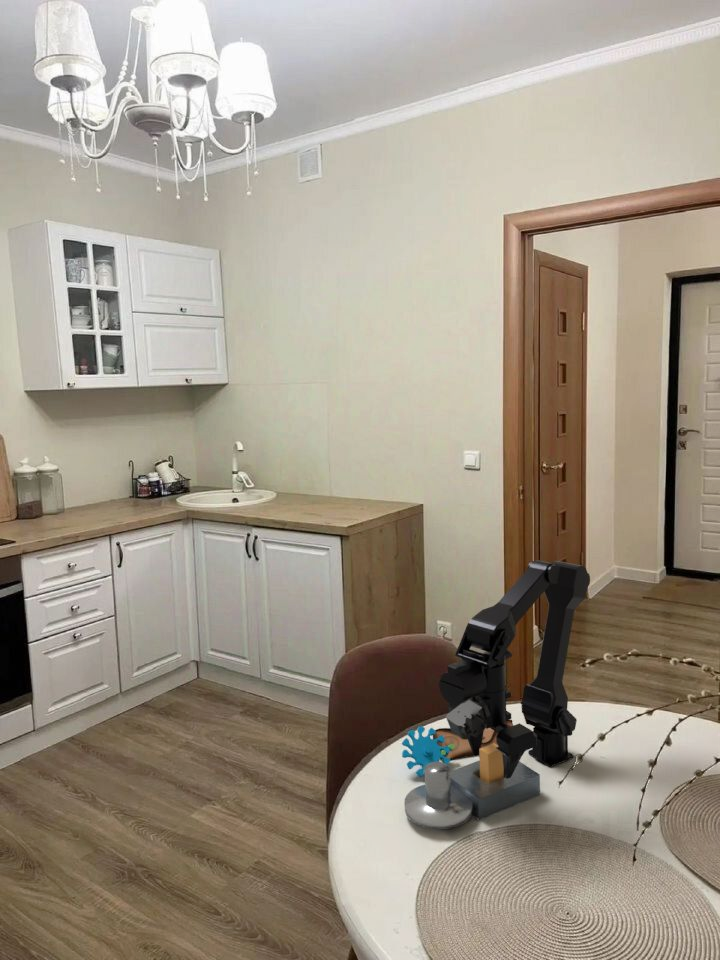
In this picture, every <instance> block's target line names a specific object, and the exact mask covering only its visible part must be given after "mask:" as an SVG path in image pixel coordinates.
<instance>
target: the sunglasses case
mask: <svg viewBox="0 0 720 960" xmlns="http://www.w3.org/2000/svg"><path fill="white" fill-rule="evenodd" d="M513 721H514V720H512V719H509V720H506V724H508V725H509V726H514V724H513ZM434 730H435V731H436V733H435V734H434V735H432V739H437V738H438V737H439V736H440V735H443V737H444V739H445V741H444V742H443V743H439V742H437V745H439V746H441V747H445V746H449V745H450V744H453V745H454V749H453V750H451V751H449V754H448V756H446V758H449V759H450V761H454V760H458V759H464V758H469V757H475V756H474V755H473V753H472V750H471V747H470V744H469V741H468V739H461V738H460V737H459V736H458V735H457V734H455V733H453V732H452V731H451V729H450V727H442V728H441V727H440V728H437V729H434ZM497 735H498V733H497V732H496V731H494V730H492V729H491V728H488V729H486V728H485V730H484V732H483V739H482V745H481V748H482V747H485V746H488V745H490V744H493V743H495V744H496V745H498V744H497V742H496V736H497Z"/></svg>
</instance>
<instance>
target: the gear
mask: <svg viewBox="0 0 720 960" xmlns="http://www.w3.org/2000/svg"><path fill="white" fill-rule="evenodd" d="M416 729H417V733H418V737H417V738H416V737H415V735H416V731H415V730H414V729H411V730H408V732H407V736H408V737H409V738H410V739H411V740H412V741H411V742H412V744H411V743H410V740H409V738H407V737H406V738H404V740H403V741H402V743H401V745H402V746H404V747H407V748H408V749H409V750H410V751H411V753H410V752H409V751H408V750H407V749H403V750H402V752H401V757H402V758H404V759H405V758H411V759H413V760H415V761H412V760H409V761H407V763H406V766H407V768H408V770H412V769H413V768H414V767H416V766H419V765H420V766H421V768H418V769H417V770H416V772H415V774H416V775H417V776H418V777H419V778H422V776H424V775H425V770H424V768H425V766H426V765H427V764H428V763H431V762H443V763H445V764H447V765H448V766H449V763H450V762H451V760H450V759H449V758H446V756H448V754H449V751H451V750H453V749H454V745H453V744H450V745H449V746H445V747H441V746H439V745H437V742H439V743H443V742H444V741H445V739H444V737H443V735H440V736H439V737H438V738H437V739H433V738H431V736H432V737H433V735H434V734H435V733H436V731H435V730H436V729H434V728H433V727H430V728H429V729H428V732H427V735H426V736H424V735H423V733H424V732H425V731H426V728H425V727H424V726H421V725H420V726H418V727H417V728H416ZM440 760H442V761H440Z"/></svg>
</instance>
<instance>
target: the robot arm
mask: <svg viewBox="0 0 720 960" xmlns="http://www.w3.org/2000/svg"><path fill="white" fill-rule="evenodd" d="M590 584H591V576H590V573H589V572H588V570H587V568H586V567H585V566H583V565H580V564H575V563H569V562H565V561H559V560H554V561H552V562H548V561H544V560H538V559H536V560H532V561H530V562H529V563H528V565H527V568H526V570H525V571H524V573H523V574H522V575H521V576H520V577H519V579H518V580H517V581H515V583H514V584H513V585H512V586H511V587H510V588H509V589H508V590H507V592H506V593H505V594H504V595H503V596H502V597H501V599H500V600H499V601H498V602H497V603H496V604H494V605H492V606H489V607H487V608H484V609H481V610H480V611H478V612H477V613H476V614H475V615H474V616H472V618H470V620H469V621H468V622H467V625H466V626H465V630H464V631H463V634H462V637H461V639H460V642H459V645H458V647H457V650H456V651H455V655H454V656H455V658H458V659H461V660H460V661H457V662H454V663H451V664H448V665H447V668H446V672H445V673H443V674H442V675H440V679H439V681H438V687H439V691H440V694H441V697H443V699H444V700H445V701H446V702H447V703H448V706H447V707H448V713H447V714H446V715H445V719H446V721H447V724H448V726H449V728H450V729H451V731H452V732H453V733H455V734H457V735H458V736H459V737H460V738H461V739H468V741H469V744H470V747H471V750H472V753H473V755H474V756H473V757H477V756H479V749H480V748H481V745H482V739H483V732H484V730H485V728H486V729H488V728H491V729H492V730H494V731H496V732H497V733H498V735H497V736H496V742H497V744H498V746H499V747H496V749H497V750H499V751H500V752H501V753H502V756H503V766H504V774H505V778H507V779H508V778H510V777H511V776H512V774H513V772H514V770H515V768H516V766H517V764H518V763H519V761H520V762H521V759H522V757H523V756H524V754H525V752H526V751H528V754H529V755H530V756H532V757H533V758H535V759H536V760H538V761H540V762H541V763H543V764H544V765H546V766H548V767H549V768H550V767H554V766H557V765H560V764H561V763H564V762H566V761H569V760H572V759H573V758H574V754H573V753H571V752H569V747H568V746H569V745H568V743H569V741H568V740H569V739H568V737H569V736H570V737H571V736H572V735H573V732H574V731H575V730H576V726H577V721H578V720H577V718H576V717H575V716H574V715H573V714H572V713H571V712H570V711H569V709H568V704H569V703H568V702H569V697H568V694H567V691H566V689H565V685H564V683H563V680H564V674H565V667H566V661H567V655H568V650H569V649H568V648H569V645H570V639H571V638H570V637H571V632H572V626H573V619H574V614H575V610H576V609H577V608H578V607H579V606H580V604H582V602H584V600H585V599H586V595H587V592H588V588H589V586H590ZM543 593H544V595H545V598H546V600H547V603H548V609H547V613H546V614H547V616H546V620H545V627H544V632H543V636H542V637H543V639H542V643H541V649H540V650H541V651H540V656H539V662H538V667H537V673H536V677H535V678H534V679H533V680H532V681H531V682H530V683H529V684H528V683H526V684H525V685H524V687H523V695H522V699H521V701H520V706H521V713H522V715H523V718H524V721H525V724H526V725H529V726H533V728H532V729H530V728H528V727H526V726H525V725H523V724H521V723H520V722H519V723H517V724H515V725H514V724H513V726H509V725H508V724H506V720H509V719H510V720H512V712H510V711H508V710H507V699H510V698H512V694H511V691H510V690H508V689H507V688H506V660H508V659H510V658H512V657H513V653H512V652H510V651H509V650H508V649H509V647H510V645H511V644H512V642H513V641H514V639H515V637H516V633H517V632H516V631H517V625H518V624H519V622H520V621H521V619H522V618H523V617H524V615H526V613H527V612H528V611H529V609H530V608H531V607H532V606H533V605H534V604H535V603H536V602H537V600H538V599H540V597H541V595H542V594H543ZM471 647H472V648H474V649H478V650H482V651H483V652H479V651H476V650H473V649H471Z"/></svg>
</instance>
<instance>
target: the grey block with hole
mask: <svg viewBox="0 0 720 960" xmlns="http://www.w3.org/2000/svg"><path fill="white" fill-rule="evenodd" d="M503 769H504V766H503ZM540 795H541V776H540V773H538V772H537V771H535V770H534V769H532V768H530V767H529V766H527V765H526V764H525V763H523V762H521V760H520V761H519V763H518V764H517V766H516V768H515V770H514V772H513V774H512V776H511V777H510V778H508V779H507V778H505V774H504V778H502V779H500V780H497V781H495V782H492V783H490V784H487V783H485V782H484V781H483V780H481V779H480V759H479V760H476V761H475V762H471V763H469V764H467V765H466V764H465V765H463V766H461V767H458V768H455V769H453V770H451V769H450V765H449V764H448V765H447V764H445V763H443V761H440V762H431V763H428V764H427V765H426V766H425V768H424V784H422V785H419V786H417V787H414V788H413V789H411V790H410V791H409V792H408V793H407V794H406V796H405V798H404V802H403V804H404V805H403V806H404V812H405V814H406V815H405V816H406V817H407V818H408V819H409V820H410V821H411V822H412V823H414V824H415V825H418V826H419V827H422V828H426V829H432V830H446V829H447V830H448V829H452V828H456V827H460V826H461V825H463V824H465V823H466V822H467V821H468V820H469V819H470V818H471V817H472V816H473V817H474V818H475V819H477V820H478V821H481V820H484V819H485V818H488V817H490V816H493V815H495V814H498V813H500V812H502V811H505V810H508V809H509V808H512V807H514V806H517V805H519V804H522V803H523V802H526V801H529V800H531V799H533V798H536V797H538V796H540Z"/></svg>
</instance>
